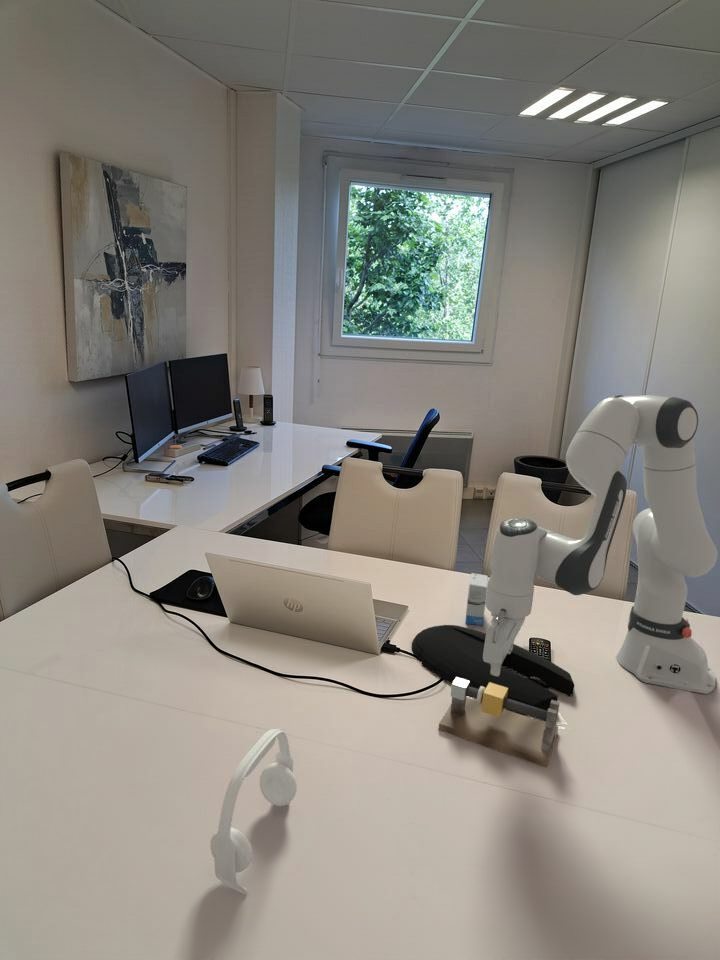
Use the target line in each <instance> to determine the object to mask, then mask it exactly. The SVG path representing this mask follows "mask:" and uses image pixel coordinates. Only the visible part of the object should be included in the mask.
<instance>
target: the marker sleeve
mask: <svg viewBox="0 0 720 960" xmlns="http://www.w3.org/2000/svg"><path fill="white" fill-rule="evenodd" d="M507 693H508V688H507V687H503V686H500V685H497V684H494V683H490V682H489V684H488V686H487V687H486V689H485V691H484V693H483V700H482V708H481V712H484V713H487V714H490V715H493V716H496V717H499V718H500V717H501V715H502V713H503V711H504V709H505V708H503V700H504V698H507ZM505 710H506V709H505Z"/></svg>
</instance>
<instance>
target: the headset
mask: <svg viewBox="0 0 720 960" xmlns="http://www.w3.org/2000/svg"><path fill="white" fill-rule="evenodd" d="M276 741H277V742H278V749H279V752H277V754H276V755H275V758H274V763H270V764H267V765H266V766H265V767H264V769H263V770H262V771H261V774H260V776H259V789H260V791H261V794H262V796H263V798H264V799H266V801H267V802H269V803H270V804H271V805H273V806H276V807H277V806H278V807H283V806H287V807H289V806H290V804H291V802H292V801H293V800H294V798H295V796H296V794H297V780H296V777H295V775H294V773H293V772H294V759H293V756H291V752H290V751H291V750H290V745H289V744H290V743H289V740H288V736H287V734H286V733H285V732H283V731H282V729H279V728H276V729H275V728H272V729H269V730H268V731H266V732H265V733H264V734H263V735H262V736H261V737H260V738H259V739H258V741H256V743H255V744H254V745H253V746H252V747H251V749H249V751H248V752H247V753H246V754H245V756H244V757H243V759H242V760H241V761H240V763H239V764H238V766H237V767H236V769H235V771H234V773H233V774H232V777H231V778H230V781H229V783H228V786H227V789H226V790H225V791H226V792H225V794H224V797H223V798H224V799H223V803H222V806H221V812H220V817H219V822H218V827H217V830H216V831H215V832H214V833H213V834H212V836H211V839H210V845H209V846H210V851H211V852H210V853H211V855H212V857H213V859H214V860H213V861H214V872H215V873H214V874H215V876H216V878H217V879H218V880H219V881H220V882H221V883H223V884H224V885H226V886H228V887H229V888H231V889H232V890H234V891H237V892H238V893H240V894H243V895H245V896H247V895H248V889H247V888H246V887H245V886H244V885H242V884H240V883H239V880H238V879H237V874H238V873H243V872H244V871H245V870H247V868H249V866H250V864H251V862H252V858H253V849H252V845H251V844H250V841H249V839H248V838H247V836H245V834H243V833H242V831H240V830H239V829H237V828H235V827H233V826H232V823H233V816H234V810H235V805H236V801H237V797H238V795H239V792H240V789H241V786H242V784H243V781H244V780H245V778H247V777H249V775H250V774H251V773H252V772H253V771H254V770H255V768H256V767H257V766H258V764H259V763H261V761H262V760H263V758H264V757H265V756H266V755H267V754H268V752H269V751H270V750H271V749H272V747H274V745H275V743H276Z"/></svg>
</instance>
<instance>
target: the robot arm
mask: <svg viewBox="0 0 720 960" xmlns="http://www.w3.org/2000/svg"><path fill="white" fill-rule="evenodd" d="M698 425H699V416H698V411H697V410H696V408H695V406H694V405H693V404H692V403H691V401H689V400H686V399H684V398H680V397H675V396H672V397H668V396H663V395H653V394H645V395H644V394H643V395H621V394H620V395H614V396H613V395H612V396H609V397H606V398H605V399H602V400H601V401H599V402H598V403H597V404H596V406H594V407H593V409H592V410H591V411H590V412H589V414H588V415H587V416H586V417H585V419H584V420H583V422H582V423H581V425H580V427H579V428H578V429H577V431H576V433H575V435H574V436H573V438H572V439H571V441H570V443H569V445H568V448H567V451H566V454H565V464H566V467H567V469H568V472H569V474H570V475H571V476H572V477H573V479H574V480H575V481H576V482H577V483H578V484H579V485H581V486H582V488H584V489H585V490H586V491H588V492H589V493H590V494H591V495H592V496H594V498H595V503H594V508H593V510H592V514H591V516H590V519H589V522H588V525H587V529H586V531H585V534H584V536H583V537H582V538H580V539H574V538H572V537H568V536H565V535H562V534H560V533H557V532H556V531H552V530H550V529H547V528H544V527H540V526H538V525H537V523H536V522H534V521H533V520H531V519H528V518H523V517H514V518H508V519H506V520H503V521H501V522H500V523H499V525H498V527H496V528H497V529H496V530H495V534H494V537H493V541H492V547H491V553H490V559H489V560H490V562H489V566H490V575H489V577H488V582H487V594H486V603H485V609H487V610H488V611H489V612H490V614H491V616H492V619H491V620H490V621H489V623H488V626H487V629H486V632H485V633H486V638H485V644H484V651H483V660H484V662H487V663H490V665H491V671H490V673H491V675H494V676H499V675H500V673H501V669H502V667H503V666H502V665H501V664H502V663H503V661H504V659H505V657H506V655H507V654H510V653H511V652H512V650H513V644H515V640H516V638H517V636H518V634H519V632H520V630H521V628H522V627H523V625H524V623H525V619H526V618H527V617H528V616H530V615H531V612H532V610H533V609H532V608H533V600H534V592H535V585H534V579H535V578H538V579H540V580H543V581H546V582H548V583H550V584H552V585H555V586H557V587H558V588H560V589H561V590H563V591H565V592H567V593H569V594H571V595H573V596H581V595H585V594H587V593H590V592H592V591H594V590H596V589H597V588H598V587H599V586H600V584H601V583H602V580H603V578H604V575H605V570H606V566H607V559H608V554H609V551H610V548H611V544H612V541H613V538H614V535H615V531H616V529H617V526H618V524H619V523H618V522H619V520H620V516H621V514H622V513H621V512H622V511H623V507H624V503H625V499H626V496H627V495H626V494H627V490H628V485H627V484H628V482H627V478H626V476H625V475H624V474H623V473H622V468H623V464H624V462H625V459H626V458H627V456H628V454H629V452H630V450H631V447H632V446H636V447H637V446H638V447H642V474H643V475H642V476H643V489H644V490H643V492H644V498H645V501H646V502H647V504H648V508H645V509H643V510H641V511H640V512H639V513H638V514H637V515H636V516H635V518H634V520H633V522H632V532H633V536H634V538H635V542H636V549H637V550H636V551H637V552H636V553H637V554H636V555H637V566H638V567H637V568H638V570H637V571H638V574H637V575H638V576H637V577H638V579H637V586H636V587H637V588H636V592H635V596H634V603H633V605H632V607H631V609H630V611H629V614H628V619H627V620H628V622H627V633H626V635H625V638H624V641H623V643H622V645H621V647H620V649H619V650H618V652H617V654H616V659H617V661H618V663H619V665H621V666H622V667H623V668H624V669H626V670H627V671H629V672H630V673H632V674H633V675H635V677H637V679H638V680H639V681H640V682H642V683H647V684H652V685H656V686H662V687H667V688H673V689H678V690H683V691H690V692H695V693H700V694H705V695H707V694H710V693H712V692H713V691H714V690H715V687H716V675H715V673H714V671H713V669H712V668H711V666H709V665H708V658H707V654H706V652H705V650H704V648H703V646H701V645H700V644H699V643H698V642H697V641H696V640H694V639H693V637H692V636H693V635H692V634H693V633H692V629H691V628H690V627H691V624H690V622H689V619H688V618H686V619H685V618H684V617H683V615H684V610H685V606H686V602H687V595H688V585H687V582H686V580H685V577H684V576H686V577H689V578H695V577H696V578H697V577H701V576H704V575H705V574H707V573H708V572H710V571H711V570H712V569H713V568H714V566H715V565H716V562H717V560H718V549H717V547H716V545H715V543H714V542H713V540H712V538H711V536H710V534H709V531H708V529H707V525H706V522H705V519H704V516H703V512H702V509H701V508H702V507H701V505H700V501H699V497H698V488H697V487H698V486H697V483H698V482H697V466H696V465H697V463H696V452H695V451H696V449H695V443H694V439H693V438H694V436H695V434H696V432H697V430H698Z"/></svg>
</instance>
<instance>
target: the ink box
mask: <svg viewBox="0 0 720 960" xmlns="http://www.w3.org/2000/svg"><path fill="white" fill-rule="evenodd" d="M469 579H470V580H469V584H468V585H469V586H468V594H467V600H466V601H467V603H466V610H465V611H466V612H465V624H467V625H475V626H481V627H482V626H483V627H484V618H485V609H486V596H487V587H488V580H489V577H488V575H486V574H481V573H479V574H478V573H474V572H472V573H470V577H469Z"/></svg>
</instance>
